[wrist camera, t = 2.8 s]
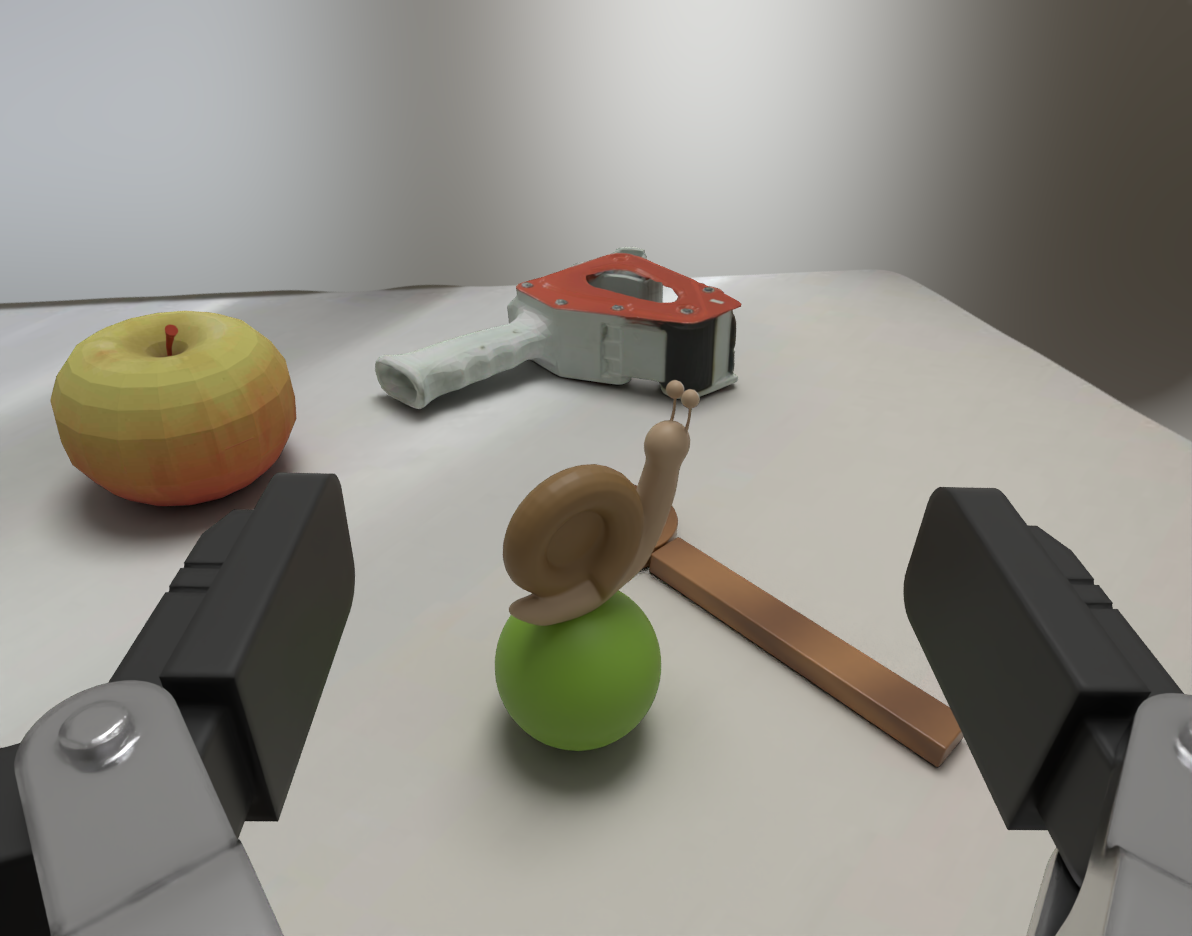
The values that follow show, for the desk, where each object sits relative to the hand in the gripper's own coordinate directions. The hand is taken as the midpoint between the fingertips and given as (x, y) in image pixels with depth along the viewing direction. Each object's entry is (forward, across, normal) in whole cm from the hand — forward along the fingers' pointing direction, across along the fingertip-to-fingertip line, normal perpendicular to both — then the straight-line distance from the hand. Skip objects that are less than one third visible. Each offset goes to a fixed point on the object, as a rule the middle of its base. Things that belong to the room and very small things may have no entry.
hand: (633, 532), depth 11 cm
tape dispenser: (+37, +1, +16) cm, 40 cm away
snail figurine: (+10, 0, +16) cm, 19 cm away
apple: (+24, +19, +16) cm, 35 cm away
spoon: (+16, -6, +16) cm, 23 cm away
